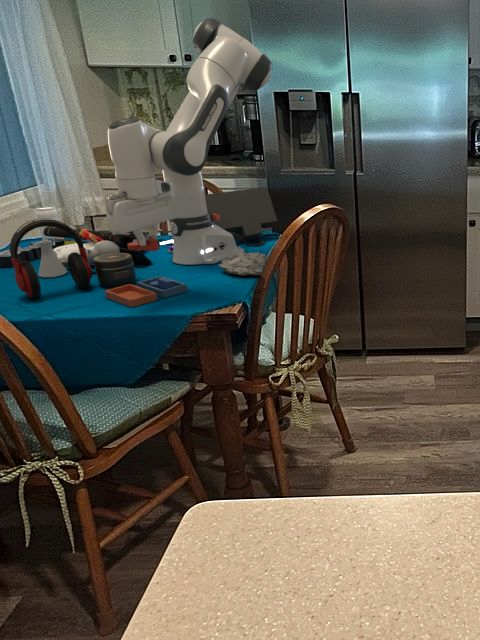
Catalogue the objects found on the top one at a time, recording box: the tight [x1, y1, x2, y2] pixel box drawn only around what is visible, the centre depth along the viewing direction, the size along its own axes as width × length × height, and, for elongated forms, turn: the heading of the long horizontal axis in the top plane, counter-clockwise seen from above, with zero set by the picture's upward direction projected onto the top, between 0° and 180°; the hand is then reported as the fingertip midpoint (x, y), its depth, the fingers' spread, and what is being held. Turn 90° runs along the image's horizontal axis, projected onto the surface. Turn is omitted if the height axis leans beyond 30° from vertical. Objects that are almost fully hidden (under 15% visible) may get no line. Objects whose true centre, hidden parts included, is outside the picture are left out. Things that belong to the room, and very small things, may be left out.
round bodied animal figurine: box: [84, 240, 120, 265], centre depth 195 cm, size 7×12×8 cm, turn 138°
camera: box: [205, 186, 278, 243], centre depth 229 cm, size 25×16×16 cm, turn 126°
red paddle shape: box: [128, 238, 160, 252], centre depth 168 cm, size 9×4×3 cm, turn 70°
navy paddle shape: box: [150, 277, 174, 290], centre depth 179 cm, size 9×4×3 cm, turn 53°
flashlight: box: [43, 226, 114, 243], centre depth 218 cm, size 4×5×25 cm
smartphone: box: [119, 248, 153, 265], centre depth 202 cm, size 7×1×15 cm
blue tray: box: [136, 276, 188, 299], centre depth 180 cm, size 13×7×2 cm, turn 53°
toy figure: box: [76, 227, 104, 244], centre depth 214 cm, size 2×7×12 cm
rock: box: [218, 252, 280, 277], centre depth 196 cm, size 17×4×15 cm
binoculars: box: [53, 241, 96, 260], centre depth 206 cm, size 10×16×5 cm, turn 141°
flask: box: [37, 240, 69, 278], centre depth 191 cm, size 7×7×10 cm
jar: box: [93, 253, 137, 289], centre depth 184 cm, size 10×10×8 cm
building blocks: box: [167, 245, 173, 254], centre depth 218 cm, size 6×8×2 cm
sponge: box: [59, 240, 89, 245], centre depth 216 cm, size 10×9×3 cm
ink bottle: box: [113, 231, 146, 253], centre depth 213 cm, size 10×9×12 cm
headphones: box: [9, 218, 93, 299], centre depth 174 cm, size 18×10×20 cm, turn 134°
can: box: [35, 205, 65, 241], centre depth 226 cm, size 6×6×12 cm
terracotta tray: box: [104, 283, 158, 308], centre depth 173 cm, size 13×7×2 cm, turn 53°
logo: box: [0, 238, 72, 268], centre depth 209 cm, size 24×3×10 cm
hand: (148, 243), depth 167 cm, fingers closed on red paddle shape
